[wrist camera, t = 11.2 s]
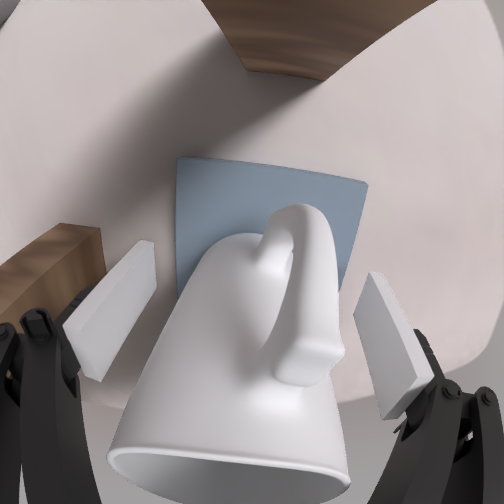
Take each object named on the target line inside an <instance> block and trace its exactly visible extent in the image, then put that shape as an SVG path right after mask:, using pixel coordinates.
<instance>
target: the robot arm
mask: <svg viewBox="0 0 504 504" xmlns="http://www.w3.org/2000/svg"><path fill="white" fill-rule="evenodd" d="M156 289H157V283H156V271H155V257H154V242H151V241H144V240H140V241H139V242H138V243H137V244H136V245H135V246H134V247H133V248H132V249H131V250H130V251H129V252H128V253H127V254H126V255H125V256H124V257H123V258H122V259H121V260H120V261H119V262H118V263H117V264H116V265H115V266H114V267H113V268H112V269H111V270H110V271H109V273H108V274H107V275H106V276H105V277H104V278H103V279H102V280H101V281H100V282H99V283H98V285H97V286H92V285H90V286H88V287H86V288H85V289H83V290H81V291H80V292H79V293H78V294H77V296H76V297H75V298H74V300H72V301H71V302H70V303H69V306H67V307H66V308H65V309H64V310H63V311H62V312H61V314H60V315H59V316H58V317H57V318H56V319H55V321H54V322H53V321H52V319H51V316H50V313H49V312H48V311H47V310H46V309H44V308H33V309H30V310H29V311H27V312H25V313H24V314H23V315H22V316H21V318H20V321H19V322H20V324H21V326H22V328H23V331H24V333H25V334H22V333H17V331H16V329H15V327H14V326H13V325H12V324H11V323H9V322H4V323H1V324H0V504H19V486H20V485H19V484H20V473H21V463H22V471H23V478H24V486H25V492H26V497H27V502H28V504H102V503H101V500H100V496H99V493H98V489H97V486H96V482H95V478H94V474H93V470H92V466H91V461H90V457H89V452H88V447H87V441H86V435H85V429H84V422H83V415H82V406H81V395H80V382H79V377H78V375H77V373H78V371H79V369H80V368H81V369H82V371H83V373H84V375H85V376H86V377H88V378H91V379H93V380H96V381H98V382H102V380H103V378H104V376H105V374H106V373H107V371H108V369H109V367H110V365H111V364H112V362H113V360H114V358H115V356H116V355H117V353H118V351H119V349H120V348H121V346H122V344H123V343H124V341H125V339H126V337H127V336H128V334H129V332H130V331H131V329H132V327H133V326H134V324H135V322H136V321H137V319H138V317H139V316H140V314H141V313H142V311H143V309H144V308H145V306H146V304H147V303H148V301H149V300H150V298H151V296H152V295H153V293H154V292H155V290H156ZM353 316H354V320H355V323H356V326H357V329H358V333H359V336H360V339H361V343H362V346H363V349H364V353H365V357H366V360H367V364H368V367H369V371H370V375H371V379H372V383H373V387H374V391H375V395H376V399H377V403H378V407H379V411H380V416H381V420H390V419H397V418H399V417H400V416H401V414H402V413H403V412H404V411H405V412H406V415H407V418H406V419H405V420H404V421H403V422H402V423H401V424H400V425H399V426H398V427H397V428H396V429H395V431H394V432H393V433H396V432H398V430H400V432H399V435H398V437H397V440H396V443H395V445H394V448H393V450H392V453H391V456H390V458H389V460H388V462H387V465H386V467H385V469H384V471H383V474H382V476H381V478H380V480H379V482H378V484H377V486H376V488H375V490H374V492H373V494H372V496H371V498H370V500H369V501H368V503H367V504H504V433H503V426H502V420H501V414H500V409H499V404H498V399H497V397H496V394H495V393H494V392H493V390H491V389H490V388H488V387H480V388H479V389H478V390H477V391H476V392H475V394H468V393H464V392H462V391H461V388H460V387H459V386H458V385H457V383H455V382H453V381H452V380H449V379H445V377H444V374H443V372H442V370H441V368H440V366H439V364H438V361H437V359H436V357H435V355H433V351H432V349H431V348H430V345H429V343H428V341H427V339H426V337H425V336H424V335H423V334H422V333H421V332H420V331H419V330H418V329H412V327H411V325H410V323H409V321H408V319H407V317H406V315H405V313H404V311H403V309H402V307H401V306H400V304H399V302H398V300H397V298H396V296H395V295H394V293H393V291H392V289H391V287H390V286H389V284H388V282H387V280H386V279H385V277H384V275H383V274H382V273H375V272H369V274H368V277H367V280H366V282H365V285H364V288H363V290H362V293H361V296H360V298H359V301H358V304H357V306H356V309H355V311H354V314H353ZM8 370H9V371H10V373H11V374H10V376H9V378H7V376H6V374H7V371H8ZM472 431H473V438H471V439H470V440H468V434H470V433H471V432H472Z"/></svg>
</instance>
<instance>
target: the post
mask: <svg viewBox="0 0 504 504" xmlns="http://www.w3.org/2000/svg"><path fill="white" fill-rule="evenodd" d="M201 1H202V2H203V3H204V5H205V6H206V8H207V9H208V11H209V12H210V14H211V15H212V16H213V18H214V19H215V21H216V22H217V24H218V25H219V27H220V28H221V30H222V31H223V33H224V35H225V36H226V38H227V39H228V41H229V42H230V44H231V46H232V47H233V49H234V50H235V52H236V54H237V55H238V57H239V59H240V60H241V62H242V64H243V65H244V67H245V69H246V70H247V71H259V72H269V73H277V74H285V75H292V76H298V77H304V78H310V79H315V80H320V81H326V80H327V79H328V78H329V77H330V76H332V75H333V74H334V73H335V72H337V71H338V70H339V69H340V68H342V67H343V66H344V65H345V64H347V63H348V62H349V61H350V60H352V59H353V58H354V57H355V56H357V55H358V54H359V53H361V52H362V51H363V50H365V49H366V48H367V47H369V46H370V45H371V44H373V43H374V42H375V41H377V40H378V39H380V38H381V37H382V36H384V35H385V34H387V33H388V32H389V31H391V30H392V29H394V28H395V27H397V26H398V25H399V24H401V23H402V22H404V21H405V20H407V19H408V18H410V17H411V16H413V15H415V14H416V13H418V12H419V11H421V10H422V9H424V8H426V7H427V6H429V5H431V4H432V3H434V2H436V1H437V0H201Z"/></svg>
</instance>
